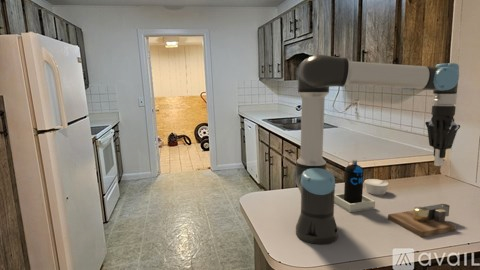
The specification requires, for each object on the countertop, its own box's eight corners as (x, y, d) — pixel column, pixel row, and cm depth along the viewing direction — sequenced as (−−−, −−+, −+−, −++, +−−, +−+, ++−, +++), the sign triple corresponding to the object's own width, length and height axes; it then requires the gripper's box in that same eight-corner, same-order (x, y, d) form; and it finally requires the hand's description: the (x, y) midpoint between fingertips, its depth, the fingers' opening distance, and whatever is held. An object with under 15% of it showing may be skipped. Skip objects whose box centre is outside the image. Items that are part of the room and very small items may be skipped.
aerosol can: (339, 201, 142) (341, 159, 139) (353, 198, 145) (355, 157, 142) (351, 207, 134) (353, 163, 131) (366, 204, 137) (368, 161, 134)
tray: (349, 212, 132) (349, 204, 131) (332, 201, 144) (332, 194, 143) (374, 208, 135) (375, 201, 135) (355, 198, 148) (355, 191, 147)
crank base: (421, 237, 110) (422, 221, 109) (387, 219, 125) (388, 204, 124) (455, 230, 114) (456, 214, 113) (418, 213, 129) (420, 199, 128)
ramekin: (390, 196, 150) (391, 186, 149) (366, 195, 152) (367, 185, 151) (384, 188, 161) (384, 179, 160) (361, 188, 163) (362, 178, 162)
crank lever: (421, 222, 116) (421, 212, 115) (410, 217, 121) (410, 207, 120) (452, 216, 121) (453, 207, 120) (441, 211, 125) (442, 202, 125)
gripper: (421, 104, 122) (416, 162, 126) (452, 106, 109) (446, 170, 113) (436, 103, 124) (431, 160, 128) (468, 105, 112) (461, 168, 115)
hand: (438, 165), depth 120 cm, fingers closed
